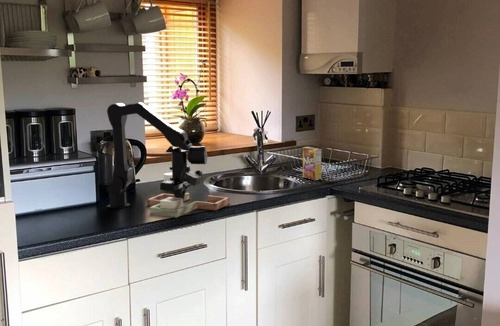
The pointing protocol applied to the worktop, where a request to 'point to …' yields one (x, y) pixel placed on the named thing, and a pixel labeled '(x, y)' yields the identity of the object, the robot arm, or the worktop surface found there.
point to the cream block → (171, 203)
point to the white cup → (167, 176)
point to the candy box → (311, 162)
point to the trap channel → (215, 205)
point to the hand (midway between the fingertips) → (180, 204)
